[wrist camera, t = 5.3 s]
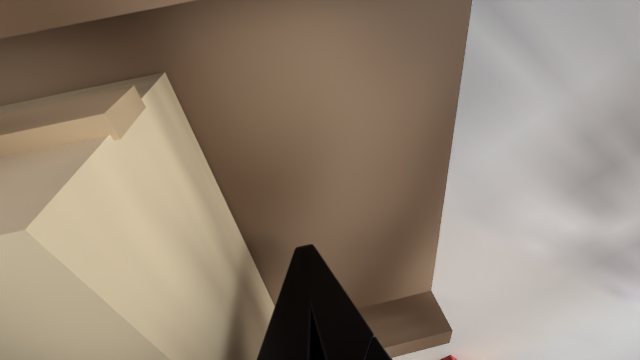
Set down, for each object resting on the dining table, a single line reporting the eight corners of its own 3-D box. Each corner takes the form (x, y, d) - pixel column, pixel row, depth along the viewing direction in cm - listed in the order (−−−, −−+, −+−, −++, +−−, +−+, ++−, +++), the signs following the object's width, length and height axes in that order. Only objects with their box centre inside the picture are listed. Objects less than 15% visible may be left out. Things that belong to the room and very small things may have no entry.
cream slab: (103, 362, 13) (35, 535, 9) (-229, 137, 6) (-1149, 457, 2) (282, 318, 13) (292, 465, 9) (163, 57, 6) (9, 203, 2)
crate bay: (108, 364, 15) (68, 469, 12) (-385, 27, 6) (-1234, 108, 2) (420, 286, 16) (461, 366, 13) (463, -129, 6) (670, -226, 3)
